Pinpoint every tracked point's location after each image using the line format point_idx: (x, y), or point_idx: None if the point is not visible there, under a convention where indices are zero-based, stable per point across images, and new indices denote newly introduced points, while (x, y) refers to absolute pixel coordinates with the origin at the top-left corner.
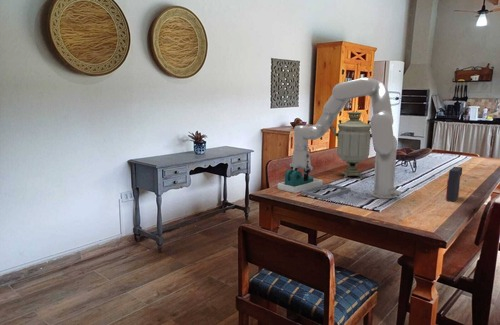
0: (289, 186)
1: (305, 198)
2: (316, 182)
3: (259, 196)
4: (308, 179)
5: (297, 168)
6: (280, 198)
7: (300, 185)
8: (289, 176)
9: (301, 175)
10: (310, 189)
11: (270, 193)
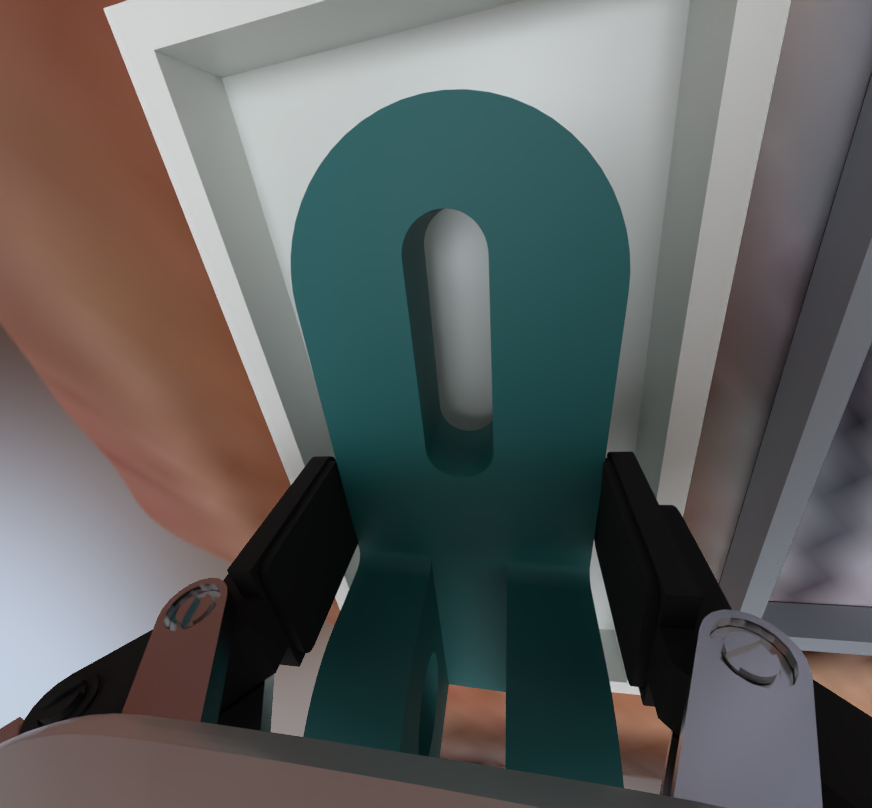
0: None
1: (856, 692)
2: (736, 218)
3: (482, 763)
4: (609, 421)
5: (219, 702)
6: (637, 752)
7: (460, 420)
8: (434, 742)
9: (609, 709)
10: (789, 533)
11: (469, 705)
